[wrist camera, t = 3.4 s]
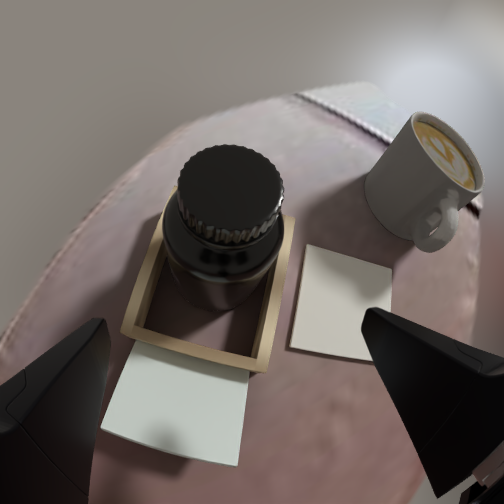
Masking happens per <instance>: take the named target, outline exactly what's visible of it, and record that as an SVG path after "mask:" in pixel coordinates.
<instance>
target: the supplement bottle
mask: <svg viewBox="0 0 504 504" xmlns="http://www.w3.org/2000/svg"><path fill="white" fill-rule="evenodd" d="M282 184H283V180H282V179H281V178H280V173H279V172H278V171H277V170H276V167H275V165H273V164H272V163H271V162H270V161H269V159H267V158H265V157H263V155H262V154H260V153H257V152H255V151H254V150H253V149H247V148H246V147H244V146H237V145H226V144H224V145H221V146H218V145H215V146H213V147H211V148H205V149H204V150H203V151H199V152H197V154H196V155H194V156H192V157H191V158H190V160H189V161H188V162H186V163H185V165H184V168H183V169H182V170H181V171H180V177H179V178H178V188H177V190H176V191H175V192H174V194H173V195H172V196H171V198H170V199H169V201H168V203H167V205H166V208H165V211H164V214H163V219H162V233H163V240H164V244H165V248H166V252H167V256H168V260H169V264H170V268H171V272H172V276H173V279H174V282H175V285H176V287H177V289H178V290H179V292H180V293H181V295H182V296H183V297H184V298H185V299H186V300H187V301H188V302H189V303H191V304H192V305H194V306H196V307H198V308H200V309H204V310H208V311H224V310H229V309H232V308H234V307H236V306H238V305H239V304H241V303H242V302H244V301H245V300H246V299H247V298H248V297H249V296H250V294H251V293H252V292H253V291H254V289H255V288H256V286H257V285H258V283H259V282H260V281H261V279H262V278H263V276H264V275H265V273H266V272H267V271H268V269H269V268H270V266H271V265H272V263H273V262H274V260H275V259H276V257H277V255H278V253H279V251H280V249H281V246H282V243H283V239H284V220H283V215H282V212H281V204H282V202H283V200H284V195H283V193H284V187H283V185H282Z"/></svg>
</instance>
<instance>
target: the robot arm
mask: <svg viewBox="0 0 504 504" xmlns="http://www.w3.org/2000/svg"><path fill="white" fill-rule="evenodd" d="M361 333H362V335H363V338H364V340H365V343H366V345H367V348H368V350H369V353H370V355H371V358H372V360H373V363H374V365H375V367H376V369H377V371H378V373H379V375H380V377H381V379H382V381H383V383H384V385H385V387H386V389H387V391H388V393H389V395H390V397H391V399H392V401H393V403H394V405H395V407H396V409H397V411H398V413H399V415H400V417H401V419H402V421H403V423H404V425H405V427H406V430H407V432H408V434H409V436H410V438H411V440H412V442H413V445H414V447H415V449H416V451H417V453H418V456H419V458H420V461H421V463H422V465H423V467H424V470H425V472H426V474H427V477H428V479H429V481H430V484H431V486H432V489H433V491H434V494H435V496H436V497H437V498H440V497H441V496H443V495H444V494H446V493H447V492H449V491H450V490H451V489H453V488H455V487H456V486H457V485H459V484H460V483H462V482H463V481H464V480H466V479H467V478H468V477H470V476H471V475H472V474H473V475H474V476H475V478H476V479H477V482H475V483H474V484H473V485H472V486H470V487H469V488H468V489H467V490H465V491H464V492H463V493H462V494H461V497H460V502H459V504H504V358H503V357H500V356H497V355H494V354H491V353H488V352H486V351H483V350H480V349H477V348H474V347H472V346H469V345H467V344H464V343H462V342H459V341H457V340H455V339H452V338H450V337H447V336H445V335H443V334H440V333H438V332H436V331H433V330H431V329H428V328H426V327H424V326H421V325H419V324H417V323H414V322H412V321H409V320H407V319H405V318H402V317H400V316H398V315H395V314H393V313H391V312H388V311H386V310H383V309H381V308H379V307H371V308H368V309H367V310H366V311H365V315H364V318H363V321H362V325H361ZM110 347H111V340H110V336H109V332H108V328H107V323H106V321H105V319H103V318H92V319H91V320H89V321H88V322H87V323H85V324H84V325H82V326H81V327H80V328H78V329H77V330H75V331H74V332H73V333H71V334H70V335H69V336H67V337H66V338H64V339H63V340H62V341H60V342H59V343H58V344H56V345H55V346H53V347H52V348H51V349H49V350H48V351H47V352H45V353H44V354H43V355H41V356H40V357H39V358H37V359H36V360H34V361H33V362H32V363H30V364H29V365H28V366H27V367H25V369H22V370H21V371H20V372H19V373H17V374H16V375H15V376H13V377H12V378H10V379H9V380H8V381H6V382H5V383H4V384H2V385H1V386H0V504H88V496H89V485H90V475H91V467H92V459H93V452H94V445H95V439H96V433H97V427H98V421H99V416H100V411H101V406H102V401H103V396H104V391H105V386H106V380H107V371H108V362H109V354H110Z"/></svg>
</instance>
